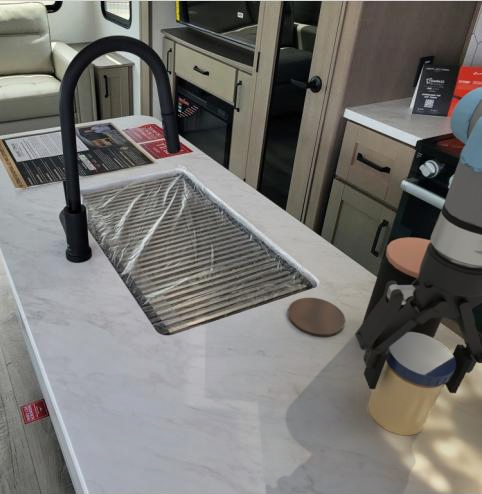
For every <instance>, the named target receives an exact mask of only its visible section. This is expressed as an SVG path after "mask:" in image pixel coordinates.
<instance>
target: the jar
mask: <svg viewBox="0 0 482 494" xmlns="http://www.w3.org/2000/svg"><path fill="white" fill-rule="evenodd" d="M445 386H446V385H445V384H444V385H440V386H423V385H419V384H416V383H413V382H410V381H408V380H406V379H404V378H403V377H401V376H400V375H398V374H397V373H396V372H395V371H394V370H393V369H392V368H391V367H390V366H389V364H388V363H387V360H386V361H385V364H384V367H383V369H382V372H381V375H380V377H379V380H378V383H377V385H376V388H375V389H372V391H371V394H370V396H369V400H368V403H367V407H368V411H369V414H370V415H371V417H372V419H373V420H374V421H375V422H376V423H377V424H378V425H379V426H381V428H382V429H385V430H387V431H389V432H391V433H393V434H395V435H399V436H414V435H416V434H419V433H420V432H421V431H422V430H423V429H424V427H425V425H426V423H427V421H428V419H429V417H430V415H431V413H432V411H433V409H434V407H435V405H436V403H437V401H438V398H439V397H440V395H441V393H442V391H443V389H444V387H445Z"/></svg>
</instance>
